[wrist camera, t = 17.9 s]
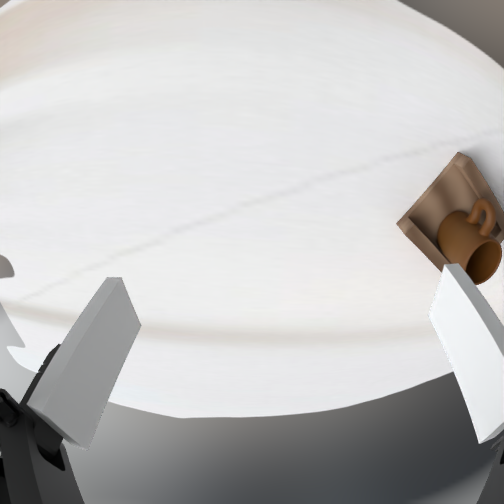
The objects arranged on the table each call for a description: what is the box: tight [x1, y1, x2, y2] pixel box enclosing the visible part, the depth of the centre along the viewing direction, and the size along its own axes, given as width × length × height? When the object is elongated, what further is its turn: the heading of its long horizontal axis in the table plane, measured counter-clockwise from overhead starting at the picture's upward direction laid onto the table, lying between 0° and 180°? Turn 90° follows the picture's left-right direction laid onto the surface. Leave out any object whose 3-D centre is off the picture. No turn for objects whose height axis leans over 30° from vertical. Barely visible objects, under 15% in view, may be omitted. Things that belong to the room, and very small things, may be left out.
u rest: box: [396, 152, 504, 273], centre depth 36 cm, size 15×17×4 cm
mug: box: [437, 198, 502, 285], centre depth 33 cm, size 12×8×9 cm, turn 7°
